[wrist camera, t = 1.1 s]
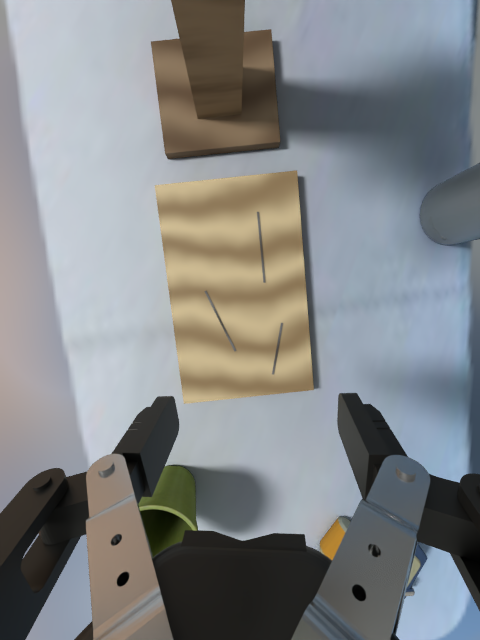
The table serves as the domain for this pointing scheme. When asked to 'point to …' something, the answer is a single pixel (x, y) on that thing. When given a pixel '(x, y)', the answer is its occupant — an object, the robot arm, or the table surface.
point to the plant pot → (169, 509)
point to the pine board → (237, 285)
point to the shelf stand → (215, 82)
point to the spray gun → (336, 535)
